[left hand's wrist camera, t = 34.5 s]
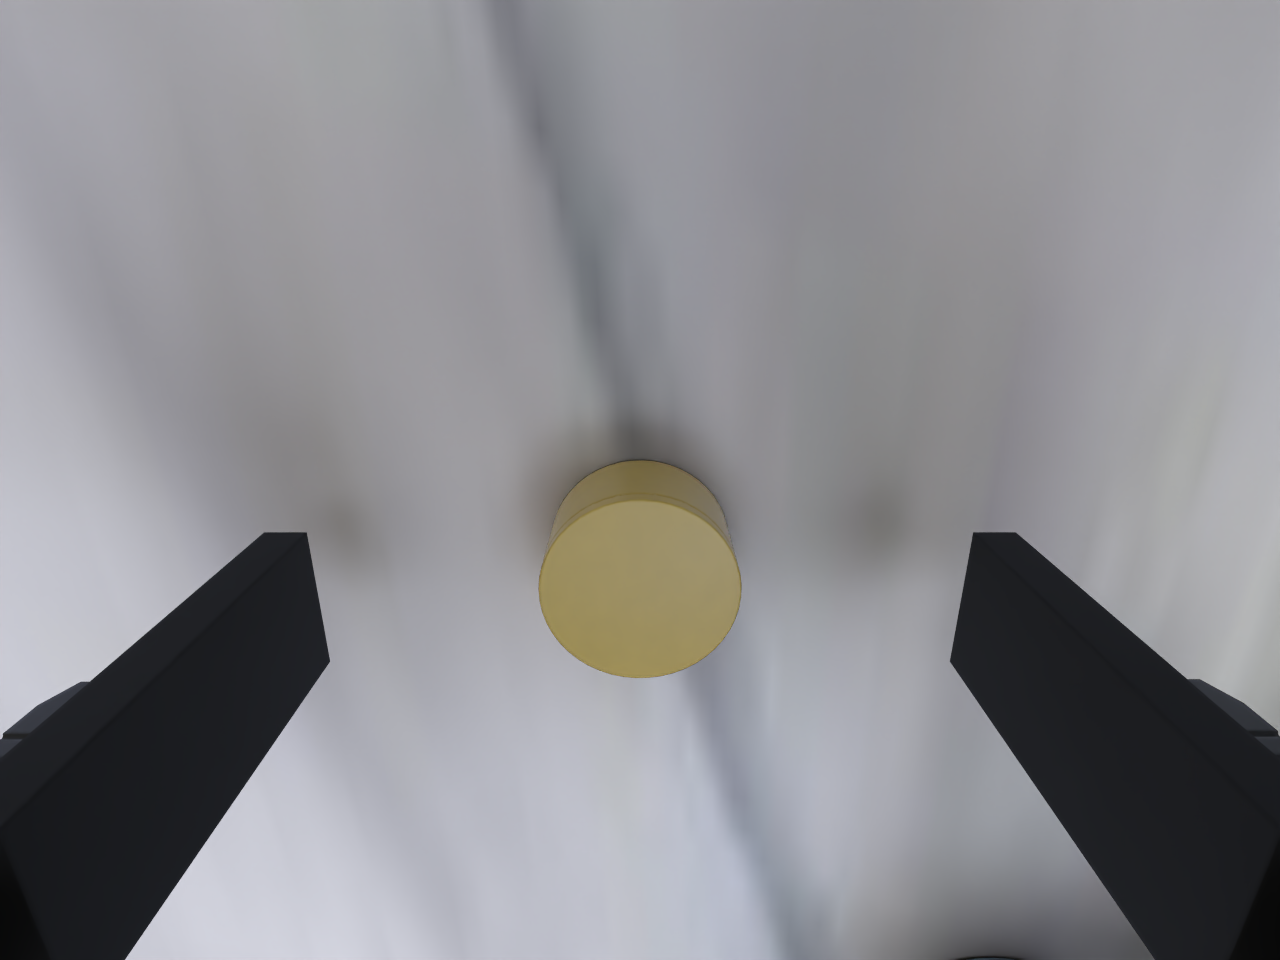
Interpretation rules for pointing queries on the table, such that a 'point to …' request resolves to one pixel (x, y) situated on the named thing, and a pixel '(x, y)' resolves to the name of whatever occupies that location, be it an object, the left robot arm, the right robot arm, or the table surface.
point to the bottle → (990, 959)
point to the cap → (640, 571)
